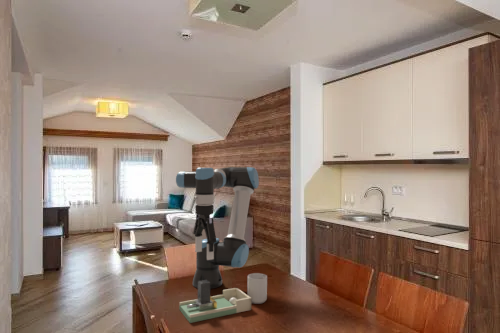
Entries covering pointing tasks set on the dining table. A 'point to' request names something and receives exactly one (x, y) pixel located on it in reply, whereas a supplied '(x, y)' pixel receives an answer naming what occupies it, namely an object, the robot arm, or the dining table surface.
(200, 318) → the pitch
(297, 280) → the dining table surface
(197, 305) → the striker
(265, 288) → the mug
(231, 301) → the ball
